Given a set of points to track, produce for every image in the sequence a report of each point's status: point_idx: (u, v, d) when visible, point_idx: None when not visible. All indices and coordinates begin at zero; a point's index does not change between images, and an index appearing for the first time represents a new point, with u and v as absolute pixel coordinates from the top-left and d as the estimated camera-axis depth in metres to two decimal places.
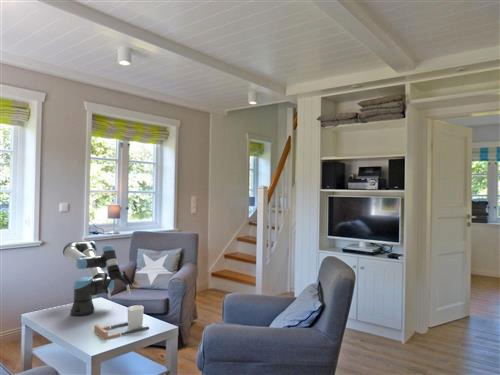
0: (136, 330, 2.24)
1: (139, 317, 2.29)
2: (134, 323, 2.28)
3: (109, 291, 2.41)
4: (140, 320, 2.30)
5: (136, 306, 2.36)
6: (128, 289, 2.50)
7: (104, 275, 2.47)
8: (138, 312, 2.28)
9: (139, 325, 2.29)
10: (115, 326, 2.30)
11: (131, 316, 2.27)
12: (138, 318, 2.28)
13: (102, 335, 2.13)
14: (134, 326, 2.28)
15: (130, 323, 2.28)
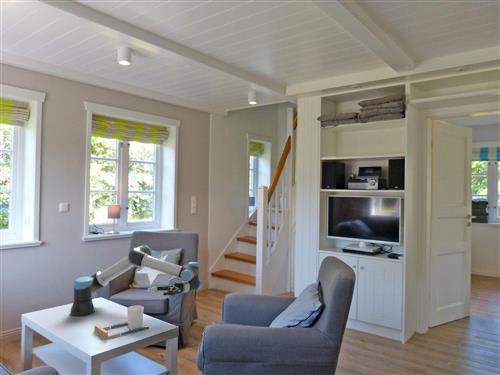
0: (136, 330, 2.24)
1: (139, 317, 2.29)
2: (134, 323, 2.28)
3: (163, 295, 2.38)
4: (140, 320, 2.30)
5: (136, 306, 2.36)
6: (152, 290, 2.47)
7: (179, 290, 2.46)
8: (138, 312, 2.28)
9: (139, 325, 2.29)
10: (115, 326, 2.30)
11: (131, 316, 2.27)
12: (138, 318, 2.28)
13: (102, 335, 2.13)
14: (134, 326, 2.28)
15: (130, 323, 2.28)
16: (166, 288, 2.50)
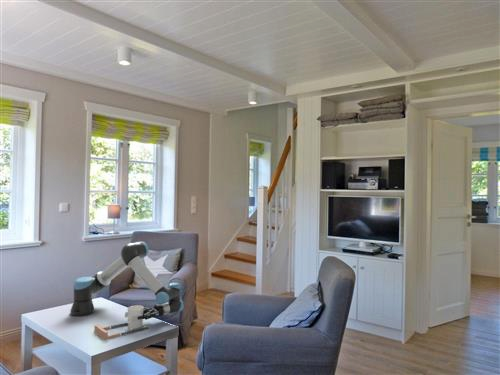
0: (136, 330, 2.24)
1: None
2: (134, 323, 2.28)
3: (137, 319, 2.28)
4: (140, 320, 2.30)
5: (136, 306, 2.36)
6: None
7: (157, 314, 2.35)
8: (138, 312, 2.28)
9: (139, 325, 2.29)
10: (115, 326, 2.30)
11: (131, 316, 2.27)
12: None
13: (102, 335, 2.13)
14: (134, 326, 2.28)
15: (130, 323, 2.28)
16: (145, 311, 2.39)
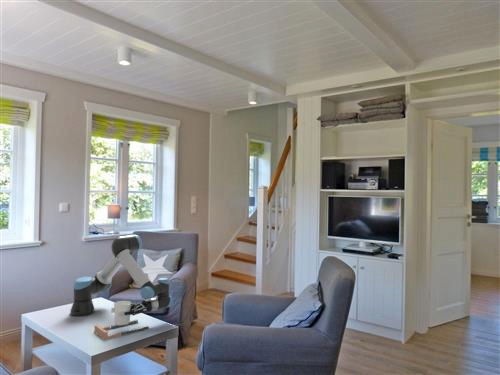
0: (136, 330, 2.24)
1: None
2: (121, 319, 2.21)
3: (124, 315, 2.21)
4: (127, 316, 2.23)
5: (123, 301, 2.30)
6: None
7: (145, 309, 2.28)
8: (125, 308, 2.22)
9: (126, 321, 2.23)
10: (115, 326, 2.30)
11: None
12: None
13: (102, 335, 2.13)
14: (121, 322, 2.21)
15: (117, 319, 2.21)
16: (133, 307, 2.33)
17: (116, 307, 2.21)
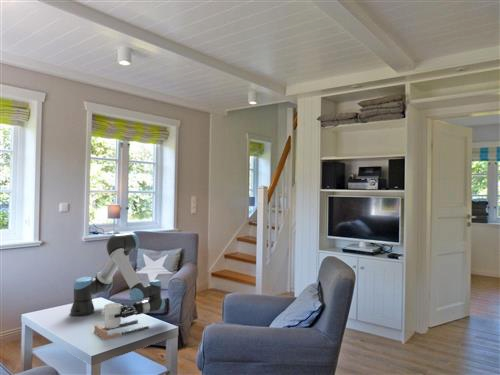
0: (136, 330, 2.24)
1: None
2: (111, 322, 2.18)
3: (114, 318, 2.18)
4: (117, 318, 2.20)
5: (114, 304, 2.27)
6: None
7: (136, 312, 2.25)
8: (115, 310, 2.18)
9: (116, 324, 2.19)
10: None
11: (108, 314, 2.17)
12: None
13: (102, 335, 2.13)
14: (111, 325, 2.18)
15: (107, 322, 2.18)
16: (124, 309, 2.29)
17: (106, 310, 2.18)
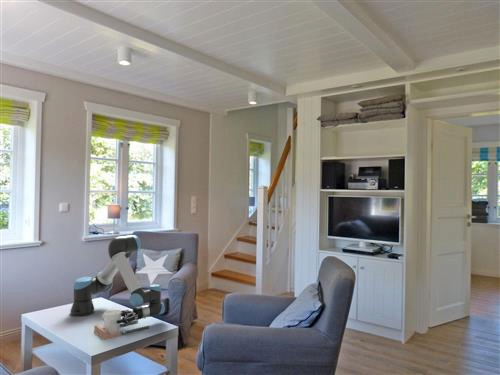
0: (136, 330, 2.24)
1: None
2: (111, 329, 2.18)
3: (116, 323, 2.18)
4: (117, 325, 2.20)
5: (114, 311, 2.26)
6: None
7: (137, 317, 2.25)
8: (115, 317, 2.18)
9: (116, 331, 2.19)
10: None
11: (107, 321, 2.17)
12: None
13: (102, 335, 2.13)
14: (111, 332, 2.18)
15: (106, 329, 2.18)
16: (123, 314, 2.30)
17: (106, 317, 2.18)
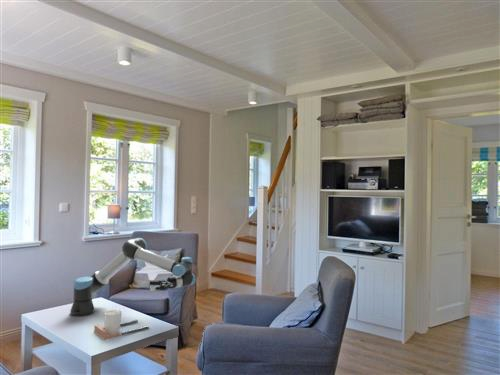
0: (136, 330, 2.24)
1: (116, 322, 2.19)
2: (111, 329, 2.18)
3: (155, 290, 2.36)
4: (117, 325, 2.20)
5: (114, 311, 2.27)
6: (145, 285, 2.45)
7: (172, 285, 2.44)
8: (115, 317, 2.18)
9: (116, 331, 2.19)
10: None
11: (107, 321, 2.18)
12: (115, 323, 2.19)
13: (102, 335, 2.13)
14: (111, 332, 2.18)
15: (106, 328, 2.18)
16: (159, 283, 2.48)
17: (106, 316, 2.18)
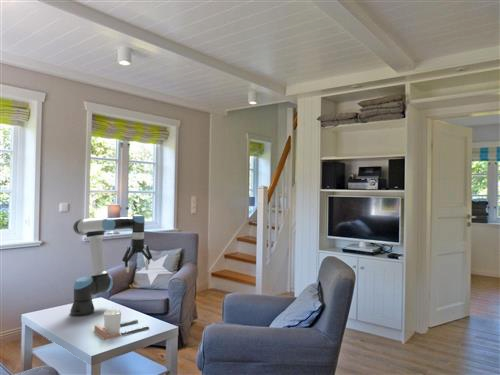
0: (136, 330, 2.24)
1: (116, 322, 2.19)
2: (111, 329, 2.18)
3: (128, 266, 2.41)
4: (117, 325, 2.20)
5: (114, 311, 2.27)
6: (146, 264, 2.50)
7: (128, 247, 2.42)
8: (115, 317, 2.18)
9: (116, 331, 2.19)
10: None
11: (107, 321, 2.17)
12: (115, 323, 2.18)
13: (102, 335, 2.13)
14: (111, 332, 2.18)
15: (106, 329, 2.18)
16: (142, 252, 2.49)
17: (106, 317, 2.18)
